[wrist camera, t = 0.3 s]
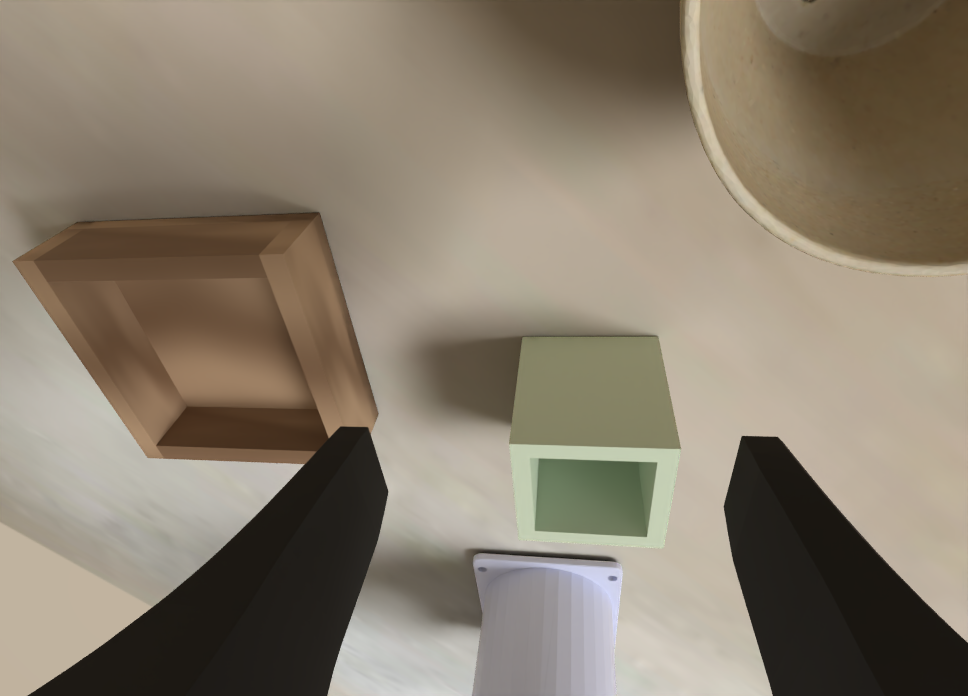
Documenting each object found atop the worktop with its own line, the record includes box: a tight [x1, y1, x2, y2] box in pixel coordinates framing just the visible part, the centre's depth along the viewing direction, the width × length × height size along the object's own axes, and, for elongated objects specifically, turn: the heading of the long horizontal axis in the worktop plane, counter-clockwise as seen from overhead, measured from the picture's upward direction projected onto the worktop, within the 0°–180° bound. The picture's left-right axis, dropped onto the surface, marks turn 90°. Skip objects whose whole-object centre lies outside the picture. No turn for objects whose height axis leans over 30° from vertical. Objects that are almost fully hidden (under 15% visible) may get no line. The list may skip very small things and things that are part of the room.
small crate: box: [509, 337, 681, 549], centre depth 20 cm, size 5×5×6 cm
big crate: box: [12, 213, 378, 464], centre depth 21 cm, size 10×10×3 cm
